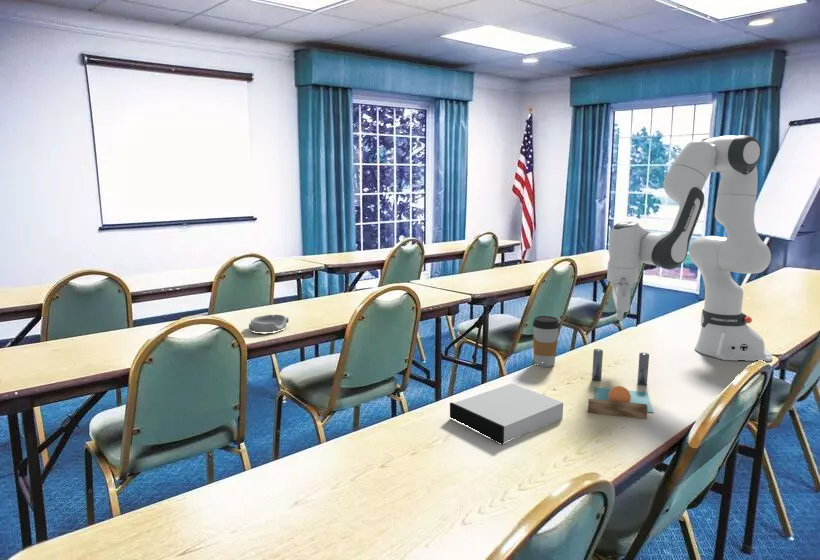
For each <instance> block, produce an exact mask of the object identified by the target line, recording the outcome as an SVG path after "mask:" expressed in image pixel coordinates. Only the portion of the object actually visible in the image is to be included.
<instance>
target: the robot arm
mask: <svg viewBox="0 0 820 560" xmlns="http://www.w3.org/2000/svg"><path fill="white" fill-rule="evenodd" d="M761 155H762V147H761V144H760V142H759V140H758V139H757V138H756V137H754V136H751V135H745V134H740V135H722V136H716V137H710V138H707V137H706V138H703V139H696V140H692V141H689V142H688V143H687V144H686V145H685V147H683V149H682V150H681V151H680V152H679V154H678V155H677V157H676V158H675V159H674V161H673V163H672V164H671V166H670V168H669V170H668V171H667V173H666V174H665V177H664V180H663V189H664V192H665V193H666V195H667V196H668V197H669V198H670V199H671V200H672V201H674V202H675V203H677V204H678V205H679V208H678V212H677V214H676V217H675V219H674V222H673V223H672V224H673V225H672V227H671V229H670V230H669V231H668V232H666V233H658V232H657V233H656V232H654V231H653V232H651V231H650V230H647V229H645V228H644V227H642V226H640V224H639V223H638V222H636V221H622V222H621V221H620V222H617V223H616V224H614V225H613V226H612V229H611V230H610V235H609V243H608V254H609V259H608V263H607V272H606V274H607V275H606V276H607V277H606V281H608V282H609V283H610V286H611V289H612V292H611V293H612V298H613V301H614V302H613V303H614V306H615V310H616V314H615V315H616V316H615V317H616V320H617V321H623V320H624V314H625V312H626V313H627V312H630V309H631V307H630V306H631V305H630V304H631V288H633V286H634V284H636V283H638V282H639V279H638V278H639V269H640V267H639V263H644V264H646V265H652V266H656V267H659V268H662V269H665V270H670V271H671V270H674V269H676V268H678V267H679V266H680V265H681V264H683V263H684V261H685V260H686V258H687V255H688V256H689V258H690V261H691V262H692V263H693V264H694V265H695V266H696V267H697V268H698V271H699V272H700V274H701V276H702V280H703V284H704V302H703V303H704V307H703V309H702V312H701V316H700V319H701V320H700V326H701V328H700V332H699V337H698V340H697V343H696V345H695V346H694V349H695V351H696V352H698V353H700V354H703V355H704V356H709V357H713V358H716V359H719V360H721V359H722V361H738V360H745V362H749V361H750V362H757V361H756V360H764V361H763V362H771V361H772V360H773V356H772V353H771V352H770V351H769V350H767V349H766V348H765V342H764V341H765V340H764V339H763V337H762V336H761V335H760V334H759V333H758V332H756V331H755V330H754V329H753V328H752V327H751V326H749V325H748V324H751V323H752V321H753V319H752V317H750V316H749V315H746V314H745V313H743V312H742V309H743V299H744V290H743V288H742V287H741V286H740V285H739V284H738V283H737V282H736V281H735V280H734V278H733V277H732V273H738V274H743V275H745V274H749V275H750V274H761V273H763V272H764V271H766V270H767V268H768V267H769V266H770V263H771V259H772V253H771V250H770V248H769V246H768V245H767V244H766V243H765V242H764V241H763V240H762V239H761V238H760V236H759V234H758V231H757V228H756V225H755V211H756V210H755V209H756V201H757V193H758V185H759V184H758V183H759V181H758V178H759V177H758V175H759V174H758V167H757V165H758V162H759V161H760V158H761ZM711 173H719V175H720V181H719V184H718V188H717V196H716V201H715V202H716V203H715V210H714V218H715V220H716V222H718V223H719V224H720V225H722V226H723V227H724V230H725V232H726V236H717V235H705V236H699V237H695V239H694V240H692V239H691V238H692V236H693V233H694V231H695V228H696V225H697V223H698V221H699V218H700V215H701V213H702V210H703V207H704V202H705V194H704V191H703V189H704V186H705V184H706V182H707V180H708V178H709V176H710V174H711ZM691 240H692V242H691V244H690V241H691ZM689 245H690V246H689ZM731 272H732V273H731Z"/></svg>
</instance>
